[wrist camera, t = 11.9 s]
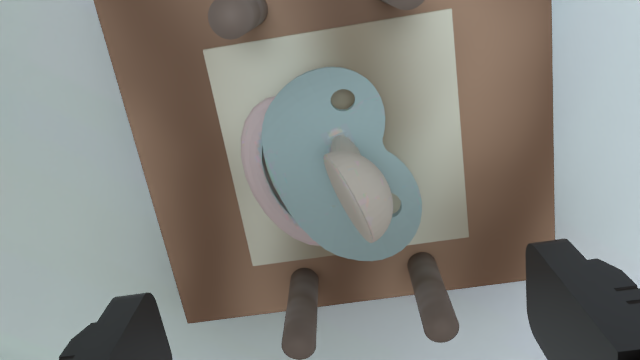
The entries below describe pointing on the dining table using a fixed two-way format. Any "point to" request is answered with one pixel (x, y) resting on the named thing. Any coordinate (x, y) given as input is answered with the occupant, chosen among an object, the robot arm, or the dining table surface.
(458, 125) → the pin tray
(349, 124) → the pacifier
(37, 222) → the dining table surface
